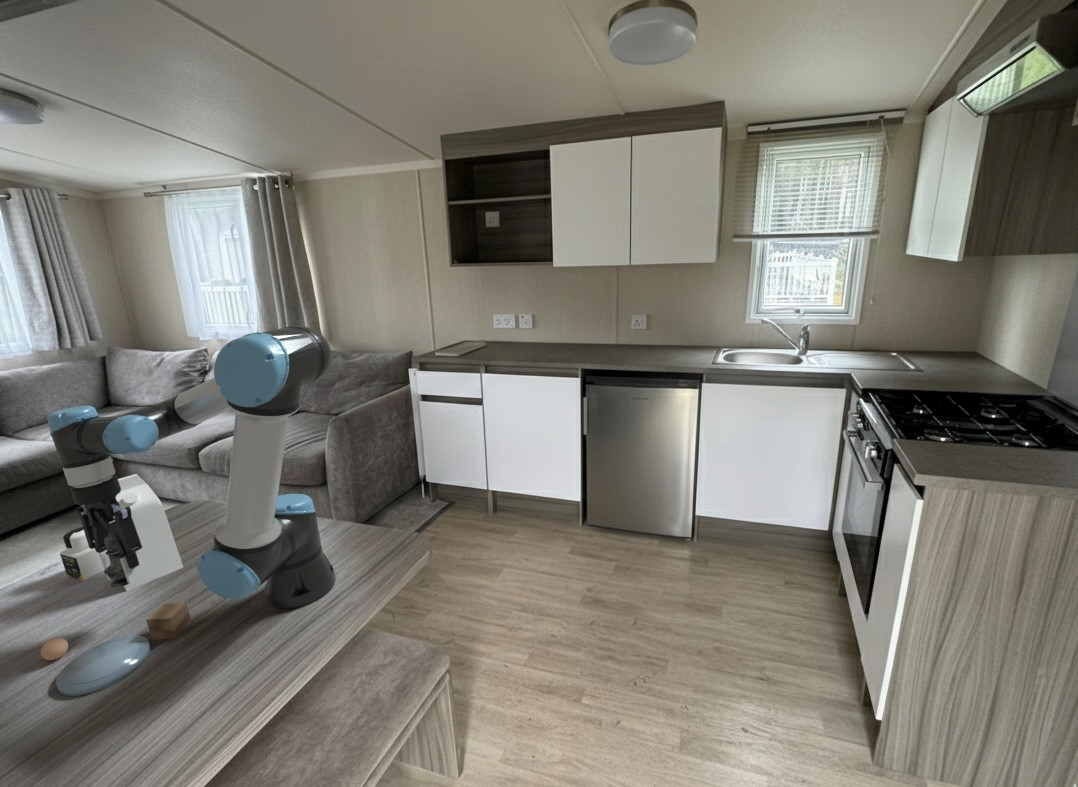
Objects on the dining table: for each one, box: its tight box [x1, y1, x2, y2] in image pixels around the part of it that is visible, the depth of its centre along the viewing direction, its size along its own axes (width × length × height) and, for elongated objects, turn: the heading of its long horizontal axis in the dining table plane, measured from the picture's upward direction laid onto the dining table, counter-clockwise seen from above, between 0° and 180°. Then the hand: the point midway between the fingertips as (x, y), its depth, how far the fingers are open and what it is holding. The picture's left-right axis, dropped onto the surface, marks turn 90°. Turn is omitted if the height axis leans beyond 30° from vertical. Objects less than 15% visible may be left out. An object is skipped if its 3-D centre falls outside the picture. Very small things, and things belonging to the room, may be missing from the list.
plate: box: [55, 634, 151, 697], centre depth 99 cm, size 14×14×1 cm
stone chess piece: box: [103, 532, 128, 588], centre depth 109 cm, size 6×6×12 cm
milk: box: [109, 473, 184, 592], centre depth 128 cm, size 12×12×26 cm
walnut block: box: [145, 602, 192, 641], centre depth 107 cm, size 5×5×5 cm
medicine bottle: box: [59, 526, 105, 582], centre depth 131 cm, size 7×7×12 cm
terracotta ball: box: [40, 637, 69, 661], centre depth 101 cm, size 4×4×4 cm
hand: (125, 578), depth 110 cm, fingers closed on stone chess piece, 6 cm apart
